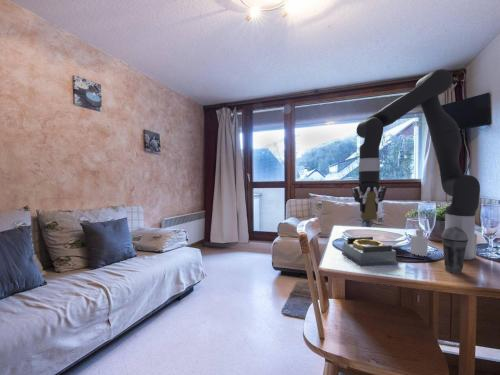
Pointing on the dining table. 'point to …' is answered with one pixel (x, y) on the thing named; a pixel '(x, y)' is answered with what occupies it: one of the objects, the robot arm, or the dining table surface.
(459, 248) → the beverage cup
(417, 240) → the eye dropper bottle
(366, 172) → the robot arm
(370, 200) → the cork
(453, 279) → the dining table surface
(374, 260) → the grey peg socket base
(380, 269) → the dining table surface
